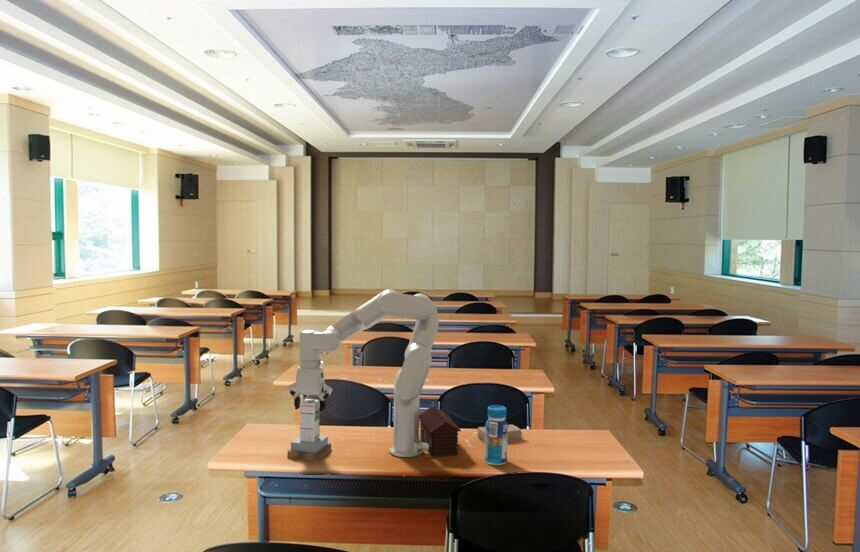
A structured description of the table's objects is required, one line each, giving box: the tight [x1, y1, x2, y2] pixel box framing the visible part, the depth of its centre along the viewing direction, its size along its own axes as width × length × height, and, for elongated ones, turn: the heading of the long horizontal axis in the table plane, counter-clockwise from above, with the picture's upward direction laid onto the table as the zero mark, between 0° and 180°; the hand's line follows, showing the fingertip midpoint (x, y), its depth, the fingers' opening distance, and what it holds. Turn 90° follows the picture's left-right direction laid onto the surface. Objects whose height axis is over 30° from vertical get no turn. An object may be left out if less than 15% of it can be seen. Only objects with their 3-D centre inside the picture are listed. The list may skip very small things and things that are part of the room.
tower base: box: [287, 442, 332, 462], centre depth 228 cm, size 12×12×3 cm
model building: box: [419, 401, 462, 457], centre depth 236 cm, size 21×12×15 cm, turn 13°
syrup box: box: [299, 398, 321, 442], centre depth 226 cm, size 6×6×14 cm
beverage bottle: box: [484, 404, 509, 466], centre depth 222 cm, size 8×8×20 cm
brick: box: [477, 424, 523, 443], centre depth 247 cm, size 17×8×5 cm, turn 113°
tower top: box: [290, 434, 329, 453], centre depth 228 cm, size 10×10×3 cm
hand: (309, 409), depth 226 cm, fingers open, 9 cm apart
